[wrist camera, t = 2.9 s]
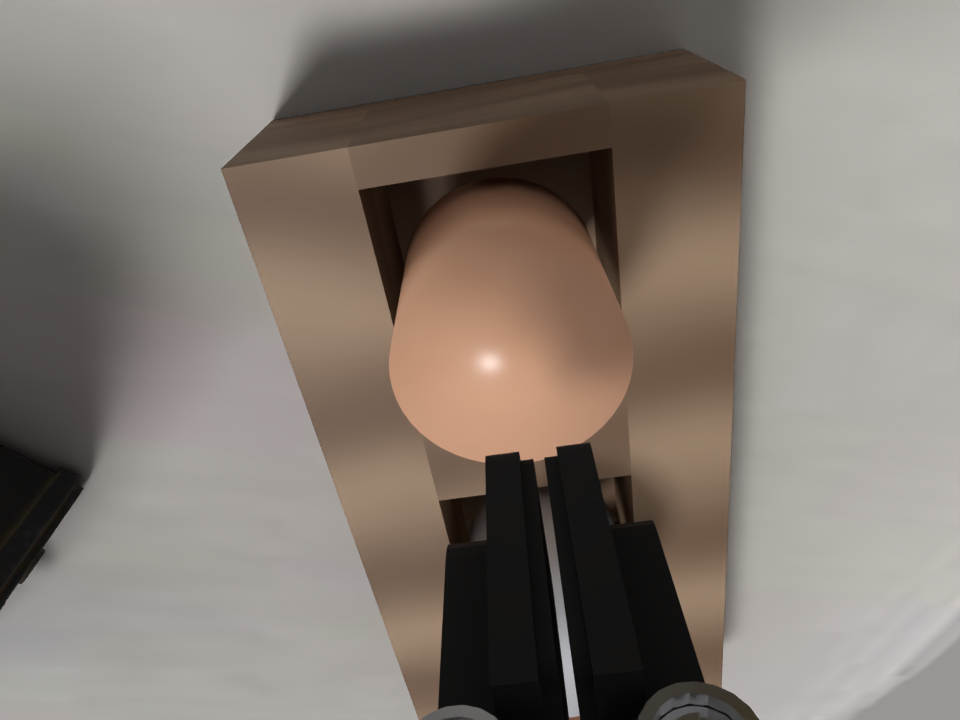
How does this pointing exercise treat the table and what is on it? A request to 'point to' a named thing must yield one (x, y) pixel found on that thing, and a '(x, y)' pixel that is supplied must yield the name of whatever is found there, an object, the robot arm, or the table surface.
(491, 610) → the robot arm
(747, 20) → the table surface
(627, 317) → the wooden candle holder
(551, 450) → the button
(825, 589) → the table surface
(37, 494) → the voltmeter
